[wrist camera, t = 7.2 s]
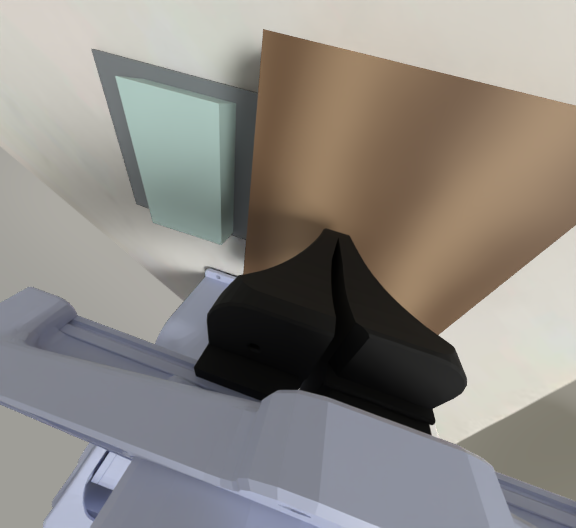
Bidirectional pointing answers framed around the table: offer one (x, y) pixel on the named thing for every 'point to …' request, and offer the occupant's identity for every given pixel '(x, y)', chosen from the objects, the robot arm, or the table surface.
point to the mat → (244, 99)
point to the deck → (406, 173)
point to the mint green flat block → (183, 156)
